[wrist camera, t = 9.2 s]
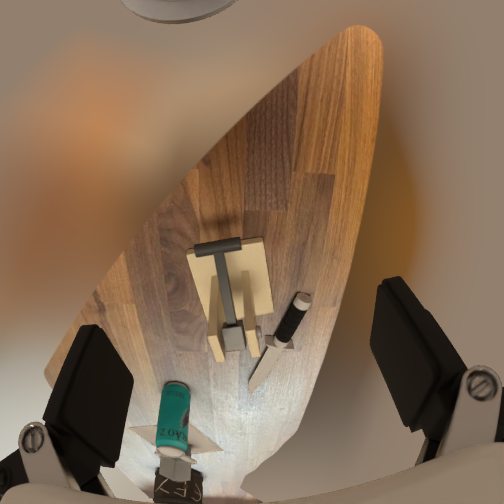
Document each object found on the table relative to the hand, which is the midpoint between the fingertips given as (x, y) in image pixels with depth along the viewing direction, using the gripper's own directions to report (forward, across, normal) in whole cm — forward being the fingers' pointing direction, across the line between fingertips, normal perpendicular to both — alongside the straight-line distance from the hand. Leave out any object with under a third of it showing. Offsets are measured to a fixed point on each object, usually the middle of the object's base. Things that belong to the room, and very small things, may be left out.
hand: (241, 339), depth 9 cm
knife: (+28, -1, +33) cm, 43 cm away
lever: (+20, +3, +13) cm, 24 cm away
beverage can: (+28, +19, +41) cm, 53 cm away
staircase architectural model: (+28, +29, +68) cm, 79 cm away
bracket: (+28, +3, +17) cm, 33 cm away
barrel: (+28, +39, +98) cm, 109 cm away
